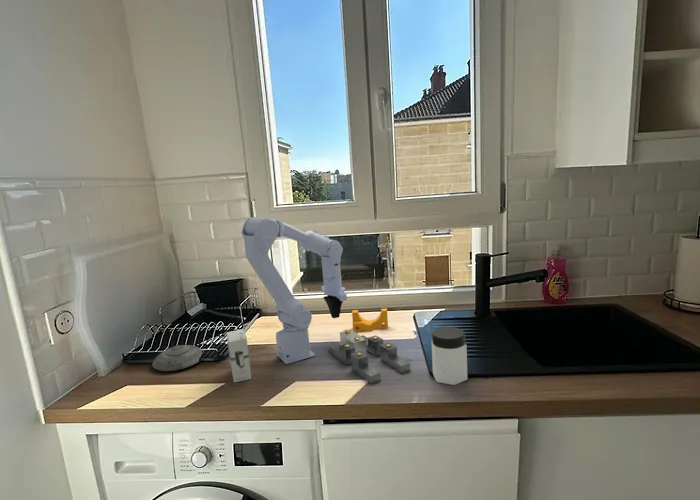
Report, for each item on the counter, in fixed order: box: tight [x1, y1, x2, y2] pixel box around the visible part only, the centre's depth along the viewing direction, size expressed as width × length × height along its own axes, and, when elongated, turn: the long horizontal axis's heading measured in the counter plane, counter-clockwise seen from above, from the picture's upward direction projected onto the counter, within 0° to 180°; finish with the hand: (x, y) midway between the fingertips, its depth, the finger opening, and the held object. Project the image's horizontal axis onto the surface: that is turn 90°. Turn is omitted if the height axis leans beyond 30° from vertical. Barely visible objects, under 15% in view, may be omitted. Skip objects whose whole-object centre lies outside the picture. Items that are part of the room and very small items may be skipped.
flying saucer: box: [151, 344, 203, 372], centre depth 127 cm, size 15×15×6 cm
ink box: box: [226, 328, 252, 383], centre depth 116 cm, size 9×5×12 cm, turn 21°
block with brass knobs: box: [339, 329, 368, 356], centre depth 127 cm, size 4×10×6 cm, turn 24°
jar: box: [430, 326, 468, 386], centre depth 106 cm, size 9×8×12 cm
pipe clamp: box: [351, 308, 389, 333], centre depth 144 cm, size 12×4×6 cm, turn 87°
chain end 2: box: [351, 342, 411, 384], centre depth 113 cm, size 12×10×5 cm
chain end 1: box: [327, 335, 384, 366], centre depth 125 cm, size 12×12×5 cm
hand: (335, 317), depth 135 cm, fingers closed
